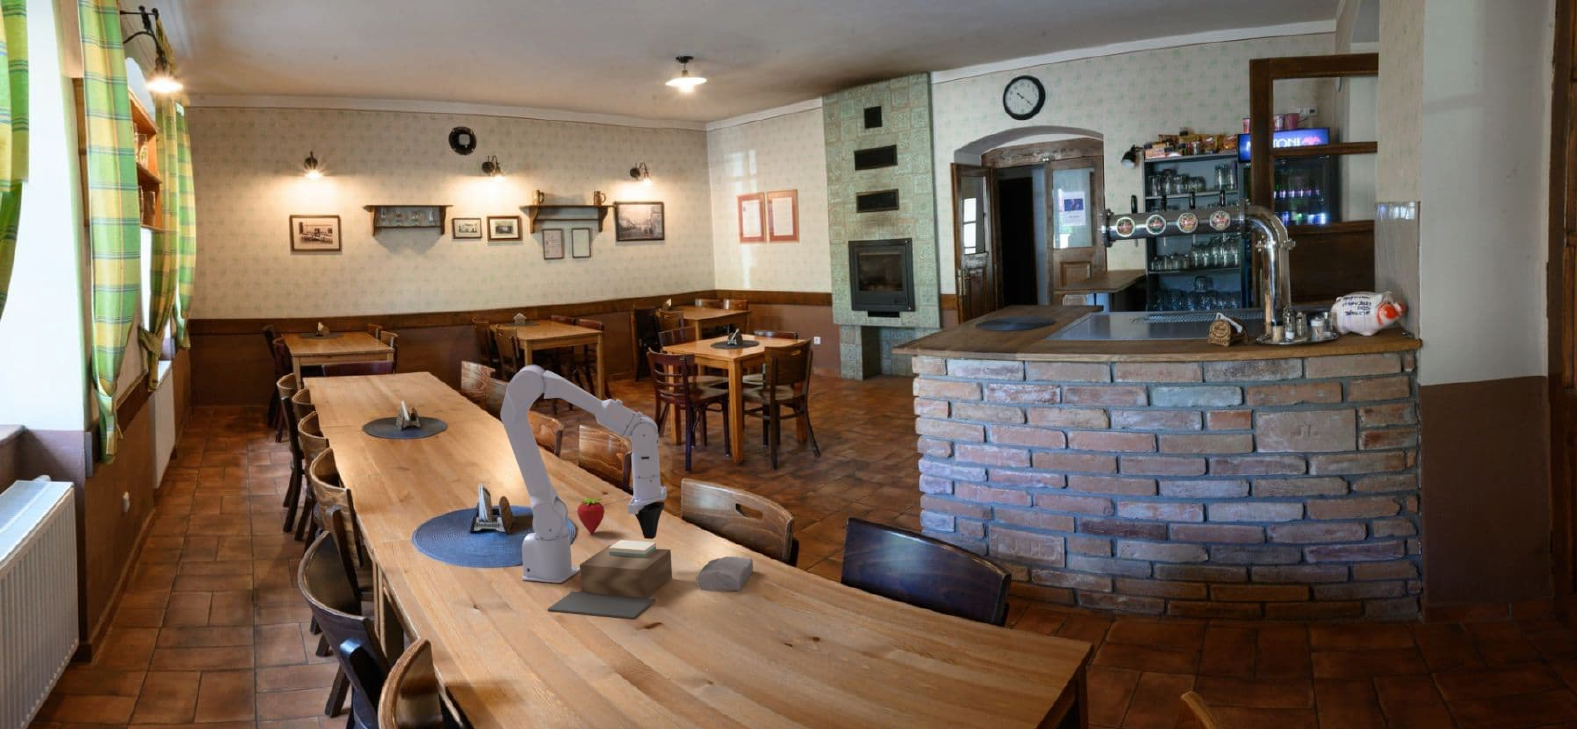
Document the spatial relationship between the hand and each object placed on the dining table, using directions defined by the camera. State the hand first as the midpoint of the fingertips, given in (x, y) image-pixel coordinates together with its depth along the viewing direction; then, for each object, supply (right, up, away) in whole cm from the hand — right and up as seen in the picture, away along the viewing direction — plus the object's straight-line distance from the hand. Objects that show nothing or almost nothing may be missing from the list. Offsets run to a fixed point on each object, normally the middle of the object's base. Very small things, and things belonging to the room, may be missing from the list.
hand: (649, 537), depth 193 cm
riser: (-3, -8, -10) cm, 13 cm away
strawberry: (-18, -4, +26) cm, 32 cm away
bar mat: (-6, -9, -19) cm, 22 cm away
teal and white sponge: (-2, -2, -7) cm, 8 cm away
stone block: (+16, -8, -8) cm, 20 cm away
